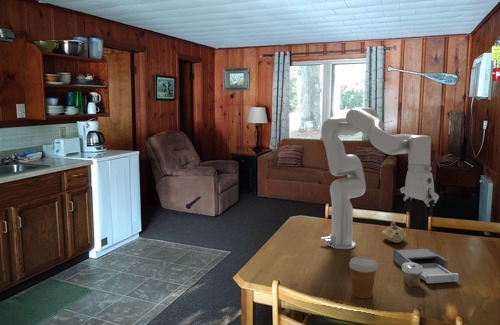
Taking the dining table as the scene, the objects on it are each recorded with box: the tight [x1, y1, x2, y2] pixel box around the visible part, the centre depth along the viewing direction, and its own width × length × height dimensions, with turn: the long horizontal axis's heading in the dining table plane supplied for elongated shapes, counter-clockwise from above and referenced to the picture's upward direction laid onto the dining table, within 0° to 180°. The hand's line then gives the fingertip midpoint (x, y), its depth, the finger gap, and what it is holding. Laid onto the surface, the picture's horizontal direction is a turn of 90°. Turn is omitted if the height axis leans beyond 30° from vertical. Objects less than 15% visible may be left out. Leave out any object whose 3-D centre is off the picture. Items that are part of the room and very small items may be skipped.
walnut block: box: [403, 272, 421, 287], centre depth 146 cm, size 4×4×5 cm
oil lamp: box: [381, 221, 407, 244], centre depth 191 cm, size 11×15×8 cm
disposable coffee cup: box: [348, 256, 378, 299], centre depth 138 cm, size 10×10×12 cm
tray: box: [420, 263, 460, 284], centre depth 152 cm, size 12×14×3 cm
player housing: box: [392, 247, 448, 270], centre depth 161 cm, size 15×14×5 cm
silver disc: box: [401, 262, 423, 275], centre depth 145 cm, size 7×7×2 cm
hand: (418, 213), depth 150 cm, fingers open, 9 cm apart
